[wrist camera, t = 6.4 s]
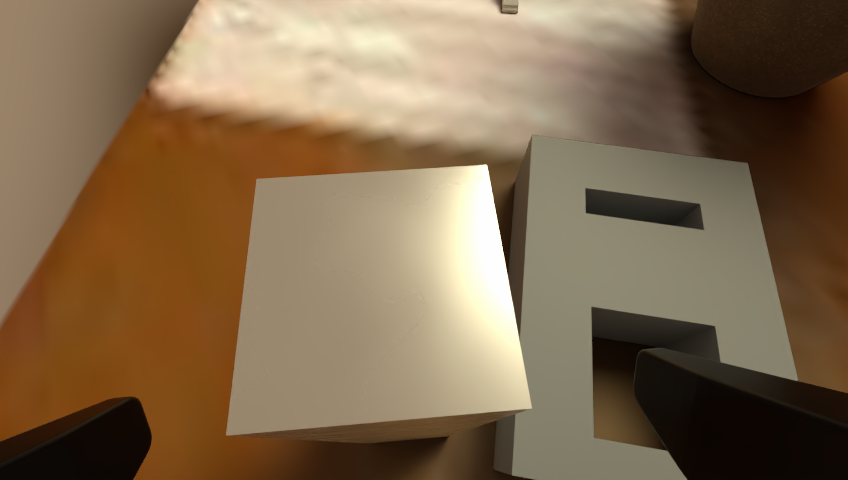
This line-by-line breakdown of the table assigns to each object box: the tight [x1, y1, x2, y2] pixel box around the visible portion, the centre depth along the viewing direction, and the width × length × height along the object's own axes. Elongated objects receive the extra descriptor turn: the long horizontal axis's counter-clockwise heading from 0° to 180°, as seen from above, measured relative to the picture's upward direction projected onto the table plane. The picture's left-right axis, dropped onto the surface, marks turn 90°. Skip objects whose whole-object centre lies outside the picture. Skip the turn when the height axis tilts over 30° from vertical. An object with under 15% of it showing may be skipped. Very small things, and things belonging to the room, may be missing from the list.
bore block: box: [493, 135, 798, 480], centre depth 16 cm, size 13×9×4 cm
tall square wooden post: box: [226, 165, 532, 444], centre depth 11 cm, size 3×3×13 cm
